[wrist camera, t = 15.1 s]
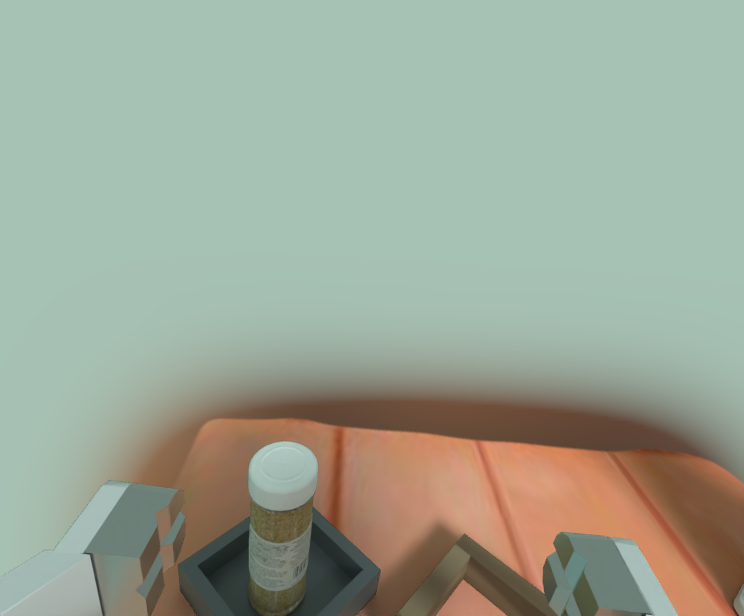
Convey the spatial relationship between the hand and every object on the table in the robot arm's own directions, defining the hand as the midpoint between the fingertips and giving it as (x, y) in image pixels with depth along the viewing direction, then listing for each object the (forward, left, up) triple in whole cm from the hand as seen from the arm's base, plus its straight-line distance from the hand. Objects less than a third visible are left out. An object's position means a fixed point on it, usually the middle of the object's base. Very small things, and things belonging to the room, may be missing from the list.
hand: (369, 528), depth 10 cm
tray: (-9, -13, -28) cm, 32 cm away
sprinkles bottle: (-9, -13, -27) cm, 32 cm away
